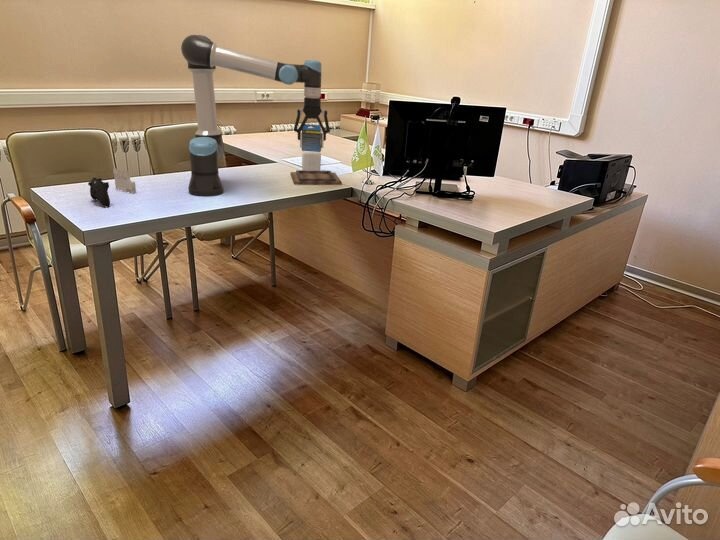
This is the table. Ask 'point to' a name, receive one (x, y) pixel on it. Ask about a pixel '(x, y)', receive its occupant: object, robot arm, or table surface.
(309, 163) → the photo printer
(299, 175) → the stand
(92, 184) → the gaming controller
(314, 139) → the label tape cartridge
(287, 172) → the table surface
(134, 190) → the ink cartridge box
